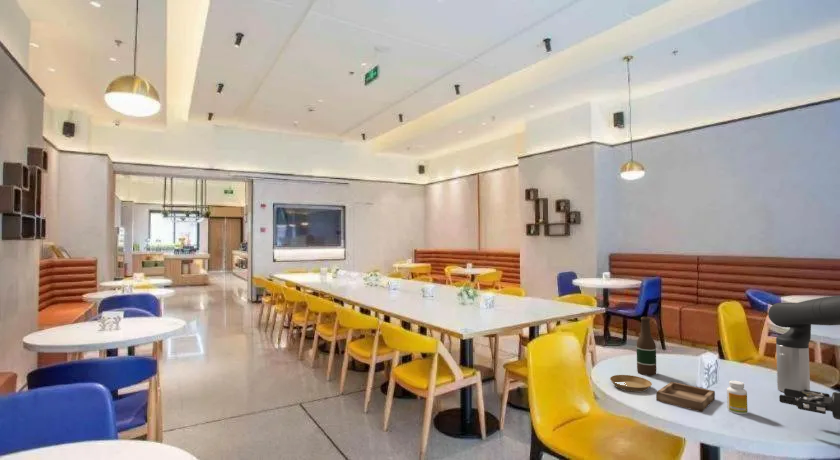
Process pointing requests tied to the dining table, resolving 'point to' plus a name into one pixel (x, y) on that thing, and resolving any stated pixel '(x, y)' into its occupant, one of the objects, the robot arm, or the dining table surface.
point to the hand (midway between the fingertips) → (781, 394)
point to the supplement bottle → (737, 398)
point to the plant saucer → (631, 383)
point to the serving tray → (685, 396)
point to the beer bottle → (646, 350)
